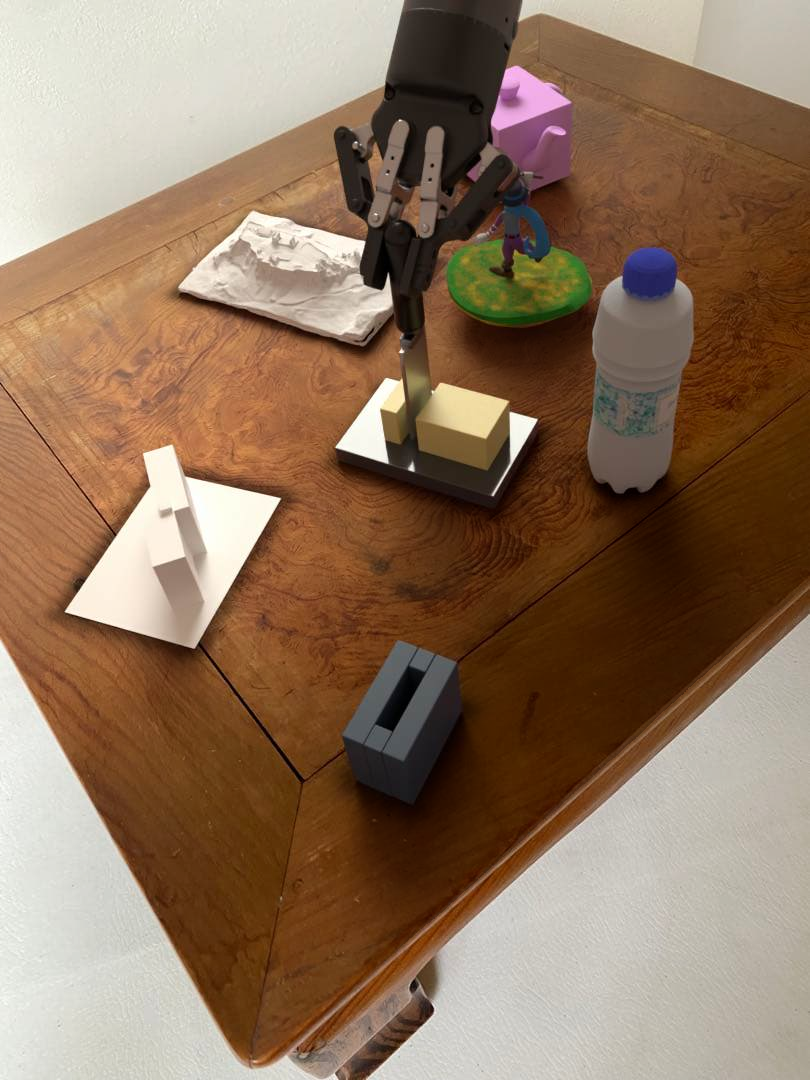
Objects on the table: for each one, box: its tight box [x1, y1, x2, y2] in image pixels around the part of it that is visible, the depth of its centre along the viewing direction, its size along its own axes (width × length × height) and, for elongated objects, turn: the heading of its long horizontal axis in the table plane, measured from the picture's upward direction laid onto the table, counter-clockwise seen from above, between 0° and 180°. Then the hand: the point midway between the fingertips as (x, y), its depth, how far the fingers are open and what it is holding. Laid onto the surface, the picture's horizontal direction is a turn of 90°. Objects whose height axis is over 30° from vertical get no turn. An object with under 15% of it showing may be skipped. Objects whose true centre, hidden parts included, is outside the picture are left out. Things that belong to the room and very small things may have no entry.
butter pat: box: [380, 378, 409, 445], centre depth 80 cm, size 2×4×4 cm, turn 153°
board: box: [334, 377, 539, 510], centre depth 81 cm, size 14×9×2 cm, turn 63°
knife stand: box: [341, 639, 463, 805], centre depth 62 cm, size 4×7×6 cm, turn 153°
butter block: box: [415, 382, 511, 470], centre depth 78 cm, size 6×4×4 cm
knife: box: [384, 218, 432, 440], centre depth 73 cm, size 2×4×19 cm, turn 153°
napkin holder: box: [64, 444, 282, 649], centre depth 74 cm, size 15×11×6 cm
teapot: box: [465, 65, 574, 204], centre depth 101 cm, size 18×14×10 cm
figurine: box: [445, 147, 593, 328], centre depth 86 cm, size 14×13×15 cm
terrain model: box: [177, 210, 394, 347], centre depth 96 cm, size 17×23×5 cm
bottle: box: [587, 247, 695, 495], centre depth 70 cm, size 7×7×20 cm
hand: (391, 291), depth 68 cm, fingers closed on knife, 2 cm apart
